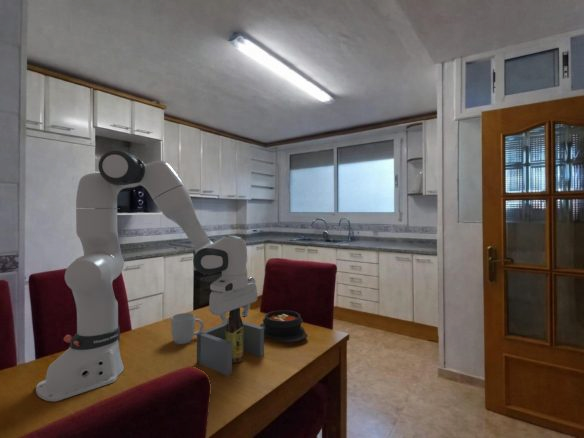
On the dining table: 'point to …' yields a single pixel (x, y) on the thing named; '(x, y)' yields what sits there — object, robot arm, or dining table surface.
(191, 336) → the mug
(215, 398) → the dining table surface
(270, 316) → the casserole
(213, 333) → the folding screen
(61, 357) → the robot arm
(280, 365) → the dining table surface
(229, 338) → the sauce bottle
